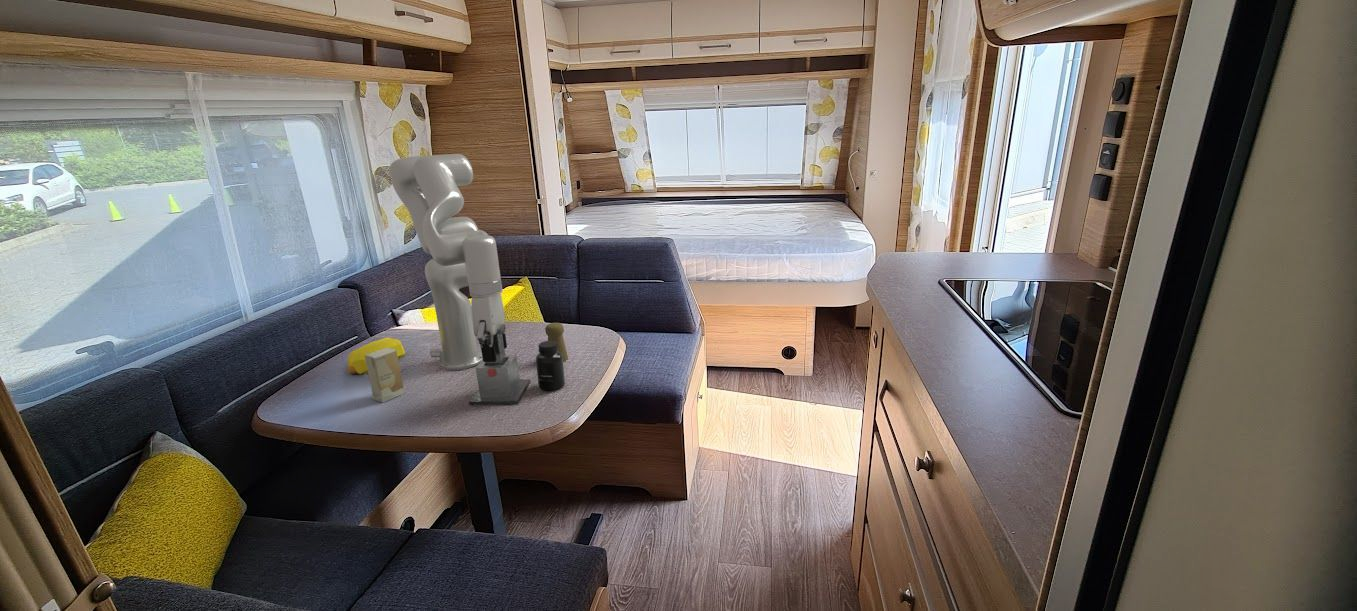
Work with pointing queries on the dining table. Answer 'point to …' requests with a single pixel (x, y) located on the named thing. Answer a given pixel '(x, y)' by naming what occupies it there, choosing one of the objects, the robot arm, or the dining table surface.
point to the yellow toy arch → (358, 356)
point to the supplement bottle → (550, 367)
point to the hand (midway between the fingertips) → (495, 354)
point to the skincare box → (384, 374)
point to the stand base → (499, 383)
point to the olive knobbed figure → (557, 337)
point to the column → (498, 347)
